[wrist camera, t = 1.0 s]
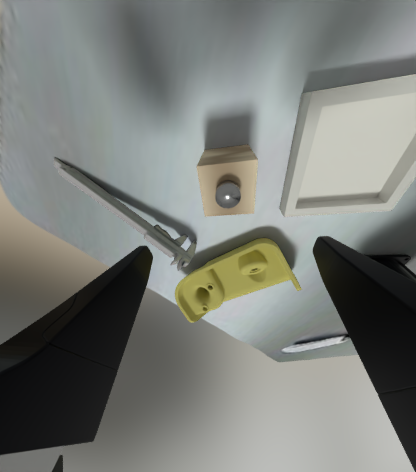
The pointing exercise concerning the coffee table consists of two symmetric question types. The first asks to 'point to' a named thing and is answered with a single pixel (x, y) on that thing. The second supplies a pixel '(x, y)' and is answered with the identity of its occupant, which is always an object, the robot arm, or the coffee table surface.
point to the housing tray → (352, 149)
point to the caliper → (130, 217)
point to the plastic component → (232, 277)
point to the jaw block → (228, 180)
